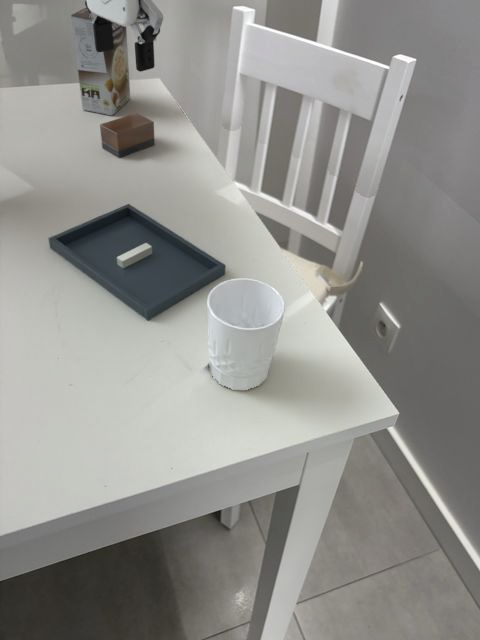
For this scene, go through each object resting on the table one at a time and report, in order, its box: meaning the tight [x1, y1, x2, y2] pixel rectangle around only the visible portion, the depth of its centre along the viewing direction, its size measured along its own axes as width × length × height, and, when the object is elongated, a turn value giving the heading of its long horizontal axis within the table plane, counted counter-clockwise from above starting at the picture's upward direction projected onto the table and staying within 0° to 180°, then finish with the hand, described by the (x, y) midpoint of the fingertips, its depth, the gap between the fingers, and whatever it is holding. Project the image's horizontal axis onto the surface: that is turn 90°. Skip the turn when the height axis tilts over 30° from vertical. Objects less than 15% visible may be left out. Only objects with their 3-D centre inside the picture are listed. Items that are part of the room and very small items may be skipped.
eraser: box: [99, 112, 156, 159], centre depth 95 cm, size 4×8×4 cm, turn 139°
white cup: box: [206, 277, 286, 391], centre depth 59 cm, size 8×8×10 cm
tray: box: [48, 203, 226, 321], centre depth 73 cm, size 19×13×2 cm
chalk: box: [117, 243, 152, 268], centre depth 73 cm, size 1×5×1 cm, turn 140°
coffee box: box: [70, 7, 131, 116], centre depth 102 cm, size 9×6×16 cm
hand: (124, 59), depth 87 cm, fingers open, 9 cm apart
